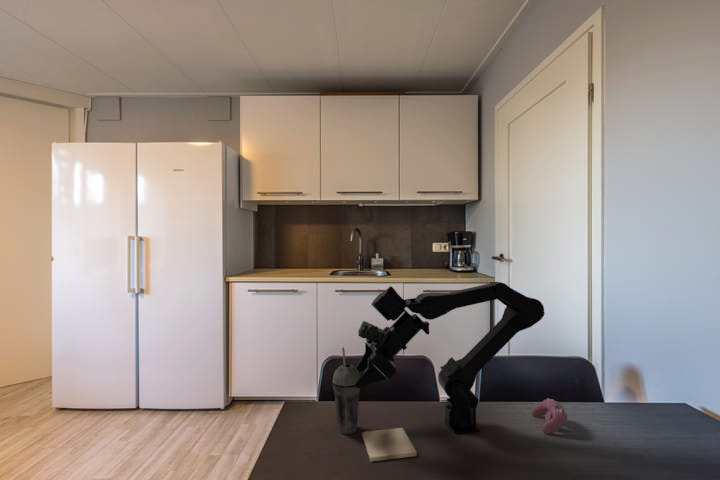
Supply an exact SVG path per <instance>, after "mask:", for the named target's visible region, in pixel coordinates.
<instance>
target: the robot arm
mask: <svg viewBox="0 0 720 480" xmlns="http://www.w3.org/2000/svg"><path fill="white" fill-rule="evenodd" d="M495 300H497V301H499V302H500V303H501V304H503V305H504V306H506V307H505V308H504V310H503V314H502V316H501V319H500V320H499V321H498V322H497V323H496V324H495V325H493V327H492V328H491V329H490V330H489V331H488V332H487V333H486V334H485V335H484V336H483V337H482V338H481V339H480V340H479V341H478V342H477V343H476V344H475V345H474V346H473V347H472V348H471V349H470V350H469V351H468V352H467V353H466V354H465V355H464V356H463V357H462V358H460V359H457V360H456V359H454V358H453V357H452V356H451V357H450V358H448V360H447V362H446V363H445V364H443V365H441V366H440V371H439V372H438V375H437V376H438V380H437V381H438V384H439V385H440V387H441V388H442V389H443V391H444V393H445V394H446V396H447V397H448V398H446V405H444V418H443V419H444V422H445V423H446V424H447V426H448V427H449V428H450V429H451V430H452V431H453V432H454V433H455V434H461V433H471V432H479V431H480V427H479V426H478V425H477V411H476V409H477V407H478V404H479V401H480V400H479V397H477V396H476V395H475V393H474V392H473V391H472V388H473V387H474V384H475V381H476V378H477V376H478V375H479V372H480V371H481V370H482V369H483V368H484V367H485V366H486V365H487V364H488V363H489V362H490V361H491V360H492V359H493V358H494V357H495V356H496V355H497V354H498V353H499V352H501V350H502V349H503V348H504V347H505V346H506V345H507V344H508V343H509V341H511V340H512V339H513V338H514V337H515V335H517V334H518V333H519V332H521V331H525V330H527V329H529V328H532V327H533V326H534V325H536V324H537V323H539V322H540V321H541V320H542V319H543V318H544V316H545V307H544V304H543V303H542V302H541V300H539V299H536V298H533V297H530V296H527V295H524V294H522V293H520V292H519V291H517V290H515V289H513V288H512V287H511V286H509V285H507V284H506V283H504V282H501V281H491V282H489V283H486V284H482V285H481V284H480V285H477V286H472V287H469V288H463V289H459V290H455V291H450V292H422V293H420V294H417V296H416V297H413V298H406V299H404V298H402V296H400V294H399V293H398V292H397V290H396V289H394V287H393V286H391V285H390V286H388V288H386V289H385V290H384V291H382V292H381V293H378V295H377V296H376V297H375V298H374V299H373V301H372V302H371V306H372V307H373V308H374V309H375V310H376V311H377V312H378V313H379V314H380V315H381V316H382V317H383V318H384V319H385V320H386V321H390V320H391V321H393V323H392V325H391V326H390V327H389V326H385V327H384V328H380V327H378V326H377V325H374V324H372V323H370V322H367V321H365V320H363V321H362V323H361V324H360V327H359V328H358V329H359V330H358V332H357V333H358V334H357V335H358V337H360V338H361V339H365V340H366V342H365V343H364V344H365V349H364V353H363V355H362V357H361V359H360V360H359V362H358V364H357V365H356V366H355V367H356V368H357V370H358V371H359V373H360V376H361V377H360V378H359V379H358V381H357V382H356V384H355V386H356V387H357V388H360V389H361V388H363V387H366V386H369V385H372V384H375V383H378V382H382V381H387V380H389V381H390V380H392V379H393V378H394V377H395V376H396V375H397V368H396V366H395V363H394V362H395V361H396V358H395V357H396V356H397V355H398V354H399V353H400V352H401V351H402V350H403V351H406V350H407V348H408V347H407V345H408V344H409V343H410V341H411V340H412V339H413V338H414V337H415V336H417V334H418V333H419V332H420V331H421V330H422V331H423V332H424V333H425V334H426V335H430V322H429V320H430V321H432V320H435V319H437V318H440V317H443V316H445V315H446V314H448V313H450V312H451V311H453V310H455V309H460V308H464V307H468V306H473V305H477V304H481V303H482V304H483V303H485V302H486V303H487V302H491V301H495ZM406 308H407V309H408V310H409V311H411V313H414V314H410V313H409V312H408V311H407V310H406ZM417 314H418V315H420V317H422V318H423V319H426V321H423V320H422V318H420V317H419V316H418V315H417ZM427 320H428V321H427ZM394 321H395V322H394ZM361 373H362V374H361Z"/></svg>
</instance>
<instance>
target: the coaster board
mask: <svg viewBox="0 0 720 480" xmlns="http://www.w3.org/2000/svg"><path fill="white" fill-rule="evenodd" d="M361 437H362V439H363V443H364V445H365V449H366V452H367V454H368V458H369V462H379V461H386V460H395V459H400V458H401V459H403V458H411V457H417V456H418V452H417V450H416V448H415V446H414V445H413V443H412V441H411V440H410V438H409V437H408V435H407V432H406V431H405V430H404V428H403V427H397V428H388V429H387V428H386V429H381V430H370V431H369V430H368V431H361Z"/></svg>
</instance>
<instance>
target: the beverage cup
mask: <svg viewBox="0 0 720 480" xmlns="http://www.w3.org/2000/svg"><path fill="white" fill-rule="evenodd" d="M341 349H342V350H341V352H342V361H343V363H342V365H340V366H338V367H337V368H336V369H335V371H334V373H333V377H332V387H333V389H332V390H333V391H334V392H333V393H334V400H335V401H334V402H335V403H334V404H335V413H336V424H337V431H338V432H339V433H340V434H343V435H351V434H354V433H355V432H356V431H357V425H358V417H359V416H358V415H359V402H360V391H361V388H357V387H356V386H355V384H356V382H357V381H358V379H359V378H360V377H361V372H360V373H359V371H358V370H357V368H356V367H357V366H354V365H353V364H349V363H346V353H345V352H346V351H345V347H342V348H341Z"/></svg>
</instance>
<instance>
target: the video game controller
mask: <svg viewBox="0 0 720 480" xmlns="http://www.w3.org/2000/svg"><path fill="white" fill-rule="evenodd" d="M531 415H532V416H533V417H535V418H538V417H543V416H545V421H546V422H545V423H544V424H543V425H542V428H541V431H542V432H543V433H544V434H546V435H549V434H550V435H551V434H552V435H553V434H555V433H556V432H558V431H560V430H561V429H562V428H564V427H565V426H566V425H567V423H568V415H567V413H566V412H565V408H564V407H563V405H562V404H561V403H560V402H559V401H556V400H555V399H552V398H551V399H550V398H549V397H548V398H546V399H544V400H542V401H541V402H540V403H539V404H538V405H535V406H534V407H532V409H531Z"/></svg>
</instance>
